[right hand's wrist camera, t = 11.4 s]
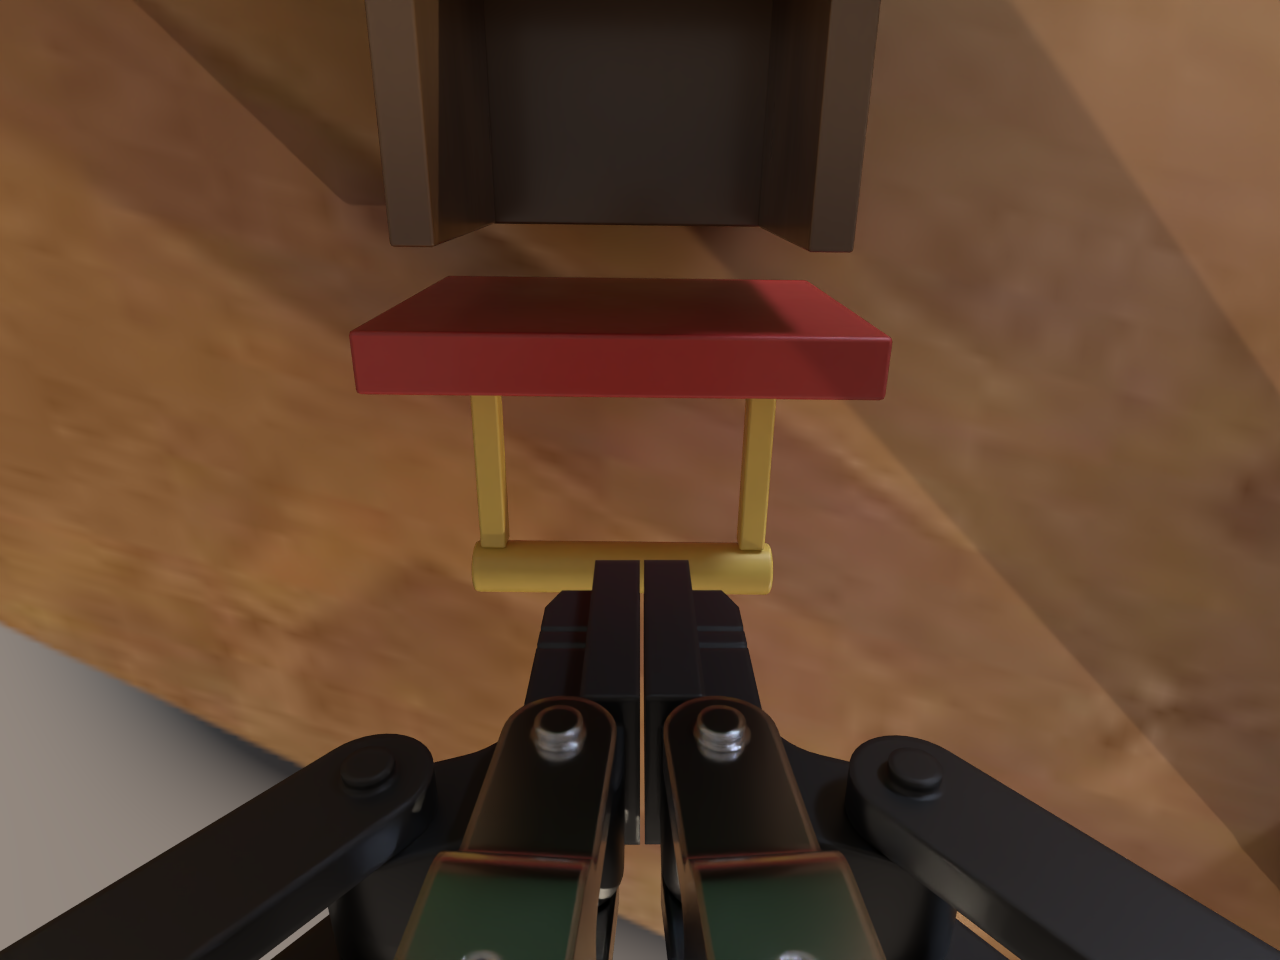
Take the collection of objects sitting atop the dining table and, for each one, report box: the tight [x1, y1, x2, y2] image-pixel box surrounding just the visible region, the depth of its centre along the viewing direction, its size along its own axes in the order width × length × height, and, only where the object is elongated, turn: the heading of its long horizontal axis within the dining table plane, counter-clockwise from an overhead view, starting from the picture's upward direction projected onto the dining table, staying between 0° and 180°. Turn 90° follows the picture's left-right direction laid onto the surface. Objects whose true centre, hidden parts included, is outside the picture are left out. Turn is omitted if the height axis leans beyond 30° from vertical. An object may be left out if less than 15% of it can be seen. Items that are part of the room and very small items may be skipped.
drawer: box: [349, 0, 892, 595], centre depth 16 cm, size 24×10×8 cm, turn 179°
